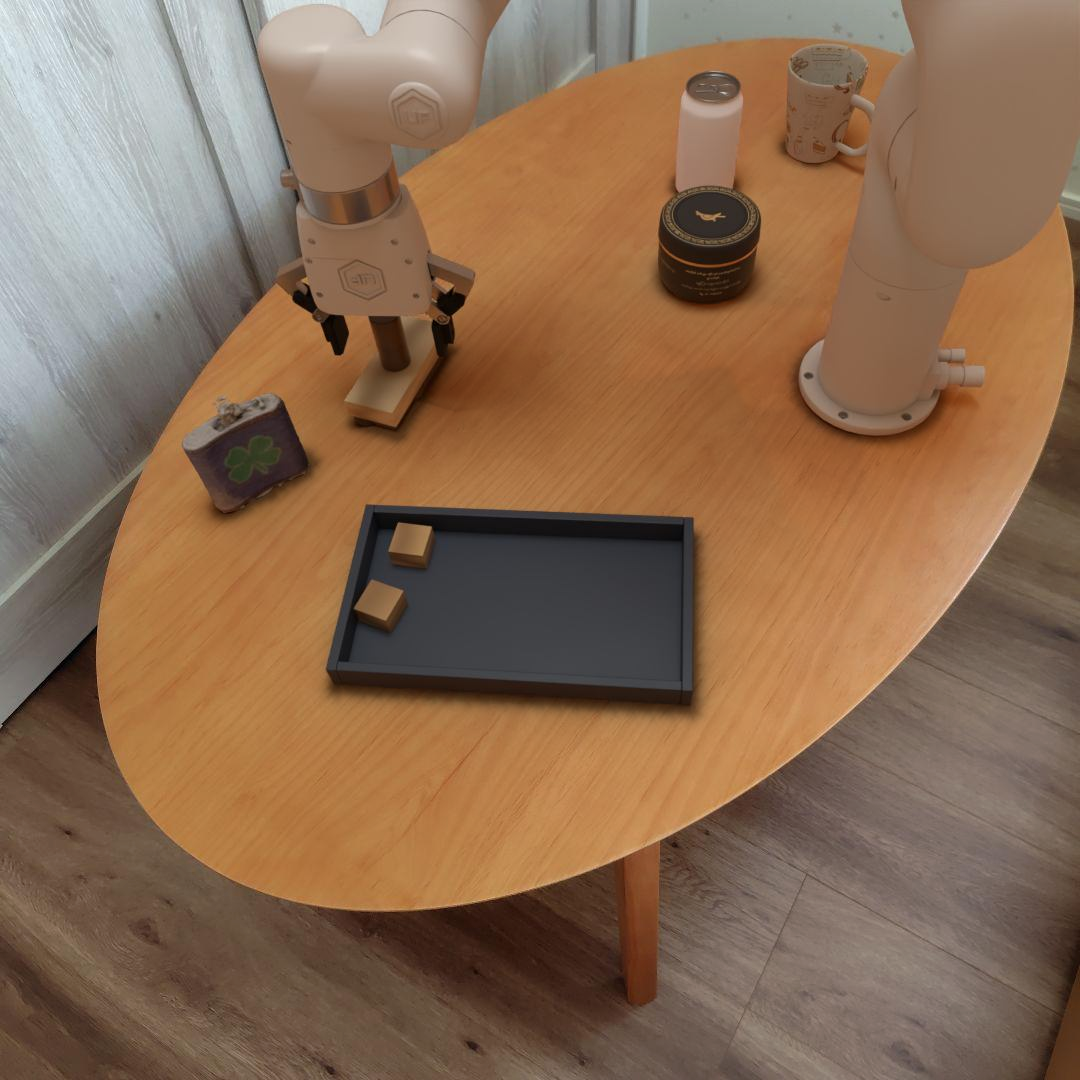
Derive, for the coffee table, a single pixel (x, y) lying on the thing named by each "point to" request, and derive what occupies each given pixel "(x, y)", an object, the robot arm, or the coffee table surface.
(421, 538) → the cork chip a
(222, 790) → the coffee table surface
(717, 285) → the jar
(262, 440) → the flask
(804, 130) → the mug
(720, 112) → the can
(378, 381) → the brush
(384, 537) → the tray
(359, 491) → the coffee table surface
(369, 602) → the small wooden block
